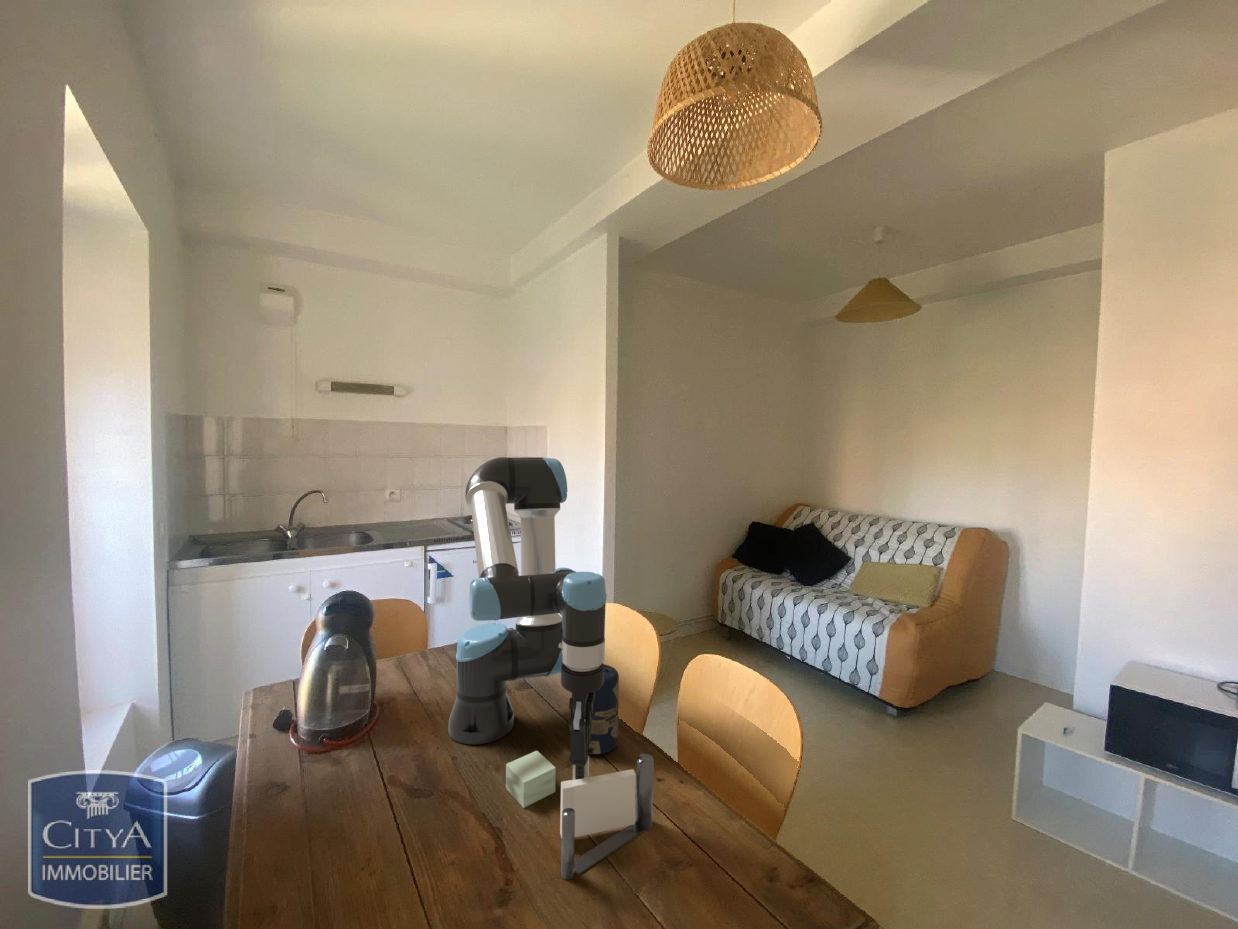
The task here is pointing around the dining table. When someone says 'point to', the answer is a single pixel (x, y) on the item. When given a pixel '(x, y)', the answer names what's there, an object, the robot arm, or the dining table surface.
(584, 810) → the gate
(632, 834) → the gate frame
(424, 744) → the dining table surface
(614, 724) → the canister
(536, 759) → the pale green block
